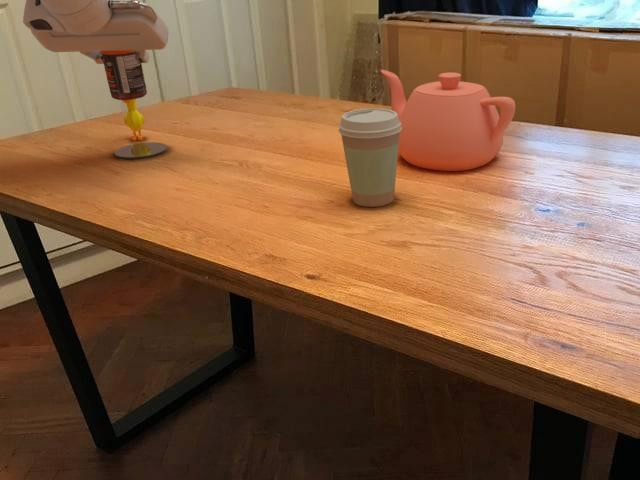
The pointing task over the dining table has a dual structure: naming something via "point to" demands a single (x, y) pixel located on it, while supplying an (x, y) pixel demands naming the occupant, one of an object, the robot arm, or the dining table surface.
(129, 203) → the dining table surface
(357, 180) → the coffee cup
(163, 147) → the coaster
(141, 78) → the supplement bottle
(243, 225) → the dining table surface
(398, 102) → the teapot
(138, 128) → the toy figure
